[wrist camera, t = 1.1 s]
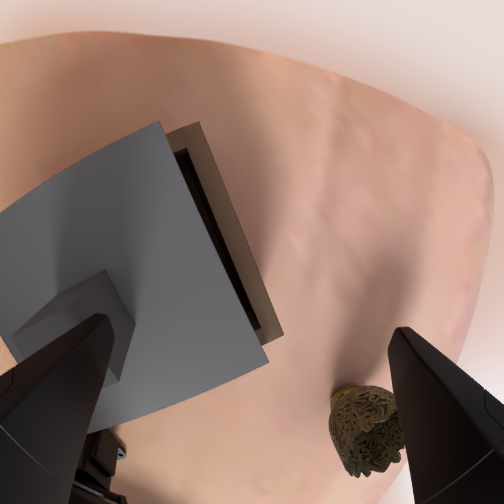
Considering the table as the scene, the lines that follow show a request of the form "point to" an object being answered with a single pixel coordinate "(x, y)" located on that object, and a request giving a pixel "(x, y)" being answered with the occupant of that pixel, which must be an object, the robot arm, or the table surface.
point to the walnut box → (224, 228)
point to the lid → (125, 278)
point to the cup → (365, 428)
